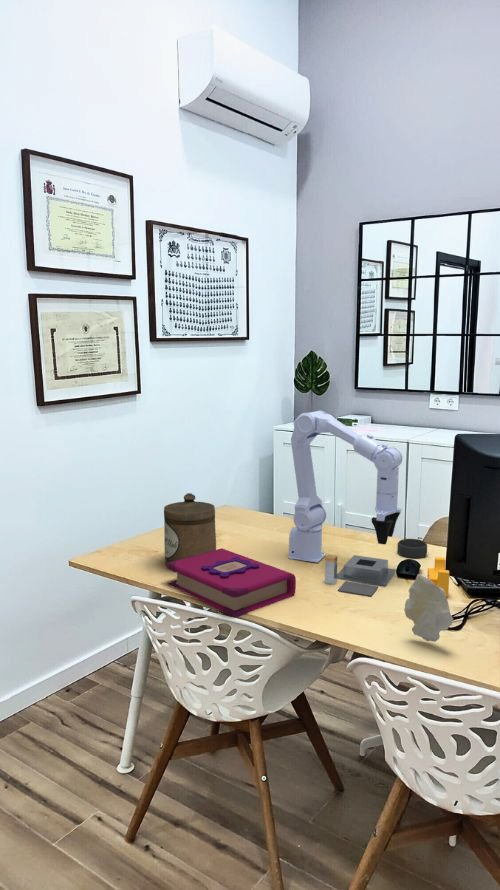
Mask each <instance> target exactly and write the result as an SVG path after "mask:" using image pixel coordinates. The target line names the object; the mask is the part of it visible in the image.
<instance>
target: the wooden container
mask: <svg viewBox="0 0 500 890" xmlns="http://www.w3.org/2000/svg"><path fill="white" fill-rule="evenodd" d="M183 500H184V501H178V502H173V503H168V504H166V505H165V506H164V507H163V519H164V520H163V521H164V526H163V527H164V539H163V541H164V564H165V567H166V568H167V569H168V563H169V562H171V561H175V560H176V561H177V560H181V559H184V558H188V557H192V556H195V555H199V554H203V553H206V552H210V551H214V550H217V537H216V533H217V532H216V510H215V509H216V508H215V505H214V504H212V503H209V502H205V501H195V500H196V495H194V494H193V493H192V492H191V493H190V492H189V493H186V494H185V495H183Z"/></svg>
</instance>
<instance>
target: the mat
mask: <svg viewBox="0 0 500 890" xmlns="http://www.w3.org/2000/svg"><path fill="white" fill-rule="evenodd" d="M378 589H379V586H377V585H371V584H364V583H358V582H352V581H346V580H344V582H343V583H342V585H341V586H339V588H338V589H337V592H338V591H339V593H346V594H351V595H356V596H357V595H358V596H363V597H370V598H372V597H373V596H374V595H375V593H376V592H377V590H378Z"/></svg>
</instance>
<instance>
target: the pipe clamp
mask: <svg viewBox="0 0 500 890" xmlns="http://www.w3.org/2000/svg"><path fill="white" fill-rule="evenodd" d="M426 578H428V579H430V580H431V581H432V582H433V583H434V584H435V585H436V586H438V587H440V588H442V589H444V591H445V594H446V598H448V597H449V590H450V589H449V588H450V586H449V585H450V570H448V569H447V570H446V558H445V557H438V556H435V557H434V567H427V576H426Z"/></svg>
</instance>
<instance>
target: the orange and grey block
mask: <svg viewBox="0 0 500 890" xmlns="http://www.w3.org/2000/svg"><path fill="white" fill-rule="evenodd" d="M337 574H338V555H334V554H326V555H325V556H324V584H325V585H326V584H327V585H331V586H335V585H336V584H337V582H338V579H337Z"/></svg>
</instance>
